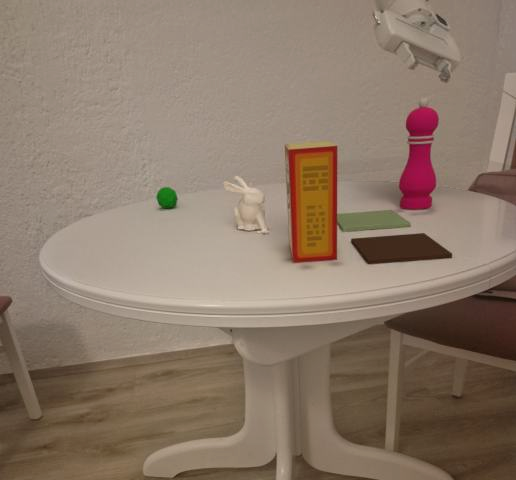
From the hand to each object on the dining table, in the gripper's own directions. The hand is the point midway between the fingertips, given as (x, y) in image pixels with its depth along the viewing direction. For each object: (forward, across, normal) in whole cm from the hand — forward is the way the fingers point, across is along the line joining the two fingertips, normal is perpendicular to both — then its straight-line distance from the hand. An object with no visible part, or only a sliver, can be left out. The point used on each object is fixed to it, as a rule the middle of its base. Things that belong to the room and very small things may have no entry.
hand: (430, 73), depth 94 cm
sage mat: (+26, -13, +15) cm, 32 cm away
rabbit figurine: (+22, -32, +27) cm, 47 cm away
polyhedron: (0, -37, +51) cm, 63 cm away
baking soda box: (+37, -31, +12) cm, 49 cm away
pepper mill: (+20, +2, +15) cm, 25 cm away
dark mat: (+40, -20, +5) cm, 45 cm away
